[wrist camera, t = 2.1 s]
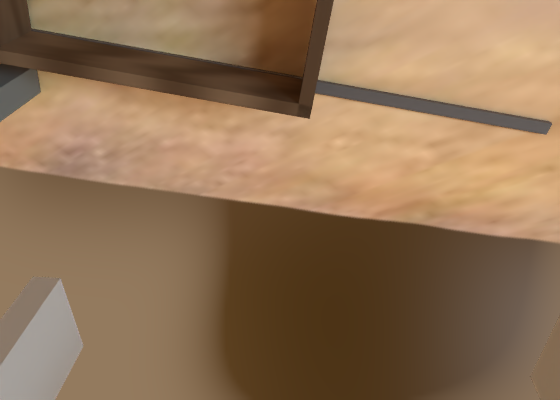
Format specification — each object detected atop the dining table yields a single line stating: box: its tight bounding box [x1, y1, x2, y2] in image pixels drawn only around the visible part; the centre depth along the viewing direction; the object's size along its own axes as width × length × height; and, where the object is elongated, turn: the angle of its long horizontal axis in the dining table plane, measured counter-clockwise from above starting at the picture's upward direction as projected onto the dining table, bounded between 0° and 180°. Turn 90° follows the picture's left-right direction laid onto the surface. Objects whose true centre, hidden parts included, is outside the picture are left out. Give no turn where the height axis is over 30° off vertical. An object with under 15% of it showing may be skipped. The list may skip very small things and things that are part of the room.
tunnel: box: [0, 29, 552, 134], centre depth 22 cm, size 46×18×16 cm, turn 82°
